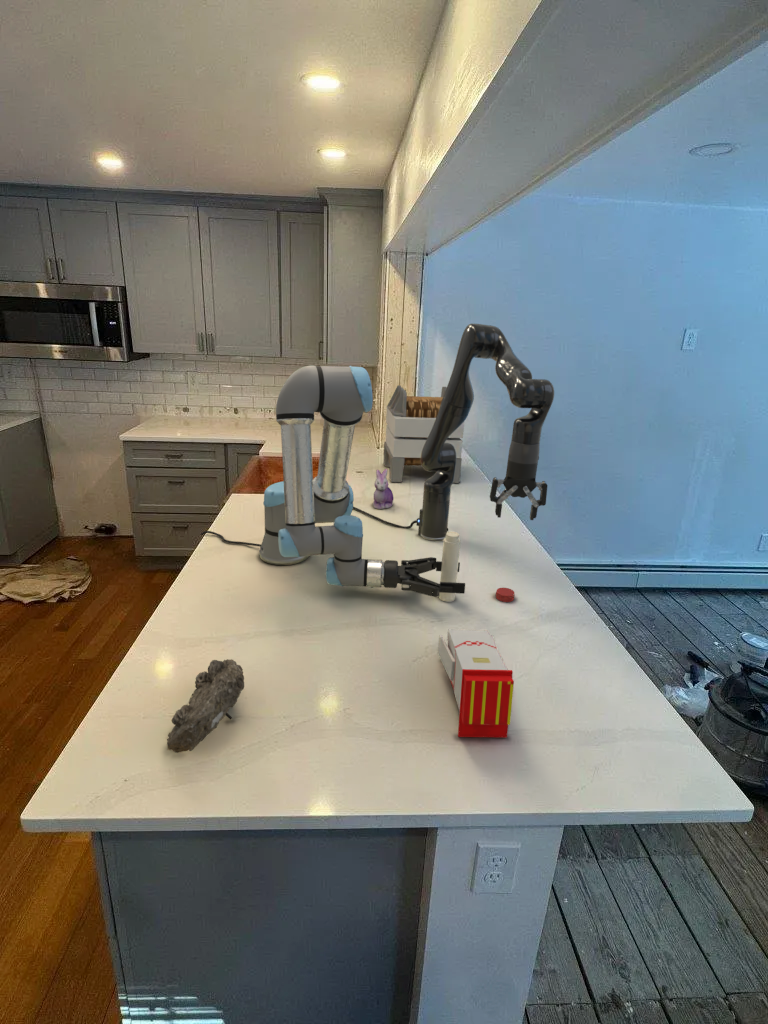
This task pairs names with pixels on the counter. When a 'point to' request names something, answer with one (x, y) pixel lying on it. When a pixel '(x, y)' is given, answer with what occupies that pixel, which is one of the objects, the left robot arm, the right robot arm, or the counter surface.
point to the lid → (505, 594)
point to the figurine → (382, 491)
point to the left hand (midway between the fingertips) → (462, 577)
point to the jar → (450, 563)
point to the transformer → (413, 432)
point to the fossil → (206, 705)
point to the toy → (478, 682)
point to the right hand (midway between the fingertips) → (514, 517)
